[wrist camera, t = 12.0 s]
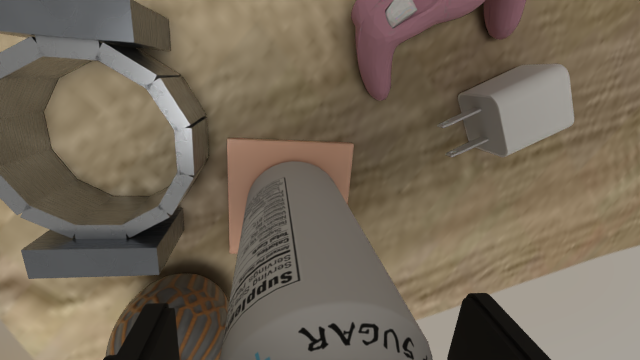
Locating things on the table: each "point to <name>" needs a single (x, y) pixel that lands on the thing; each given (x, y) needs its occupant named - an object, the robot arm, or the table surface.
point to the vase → (182, 315)
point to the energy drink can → (312, 279)
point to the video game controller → (415, 29)
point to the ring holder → (50, 172)
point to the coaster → (265, 153)
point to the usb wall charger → (515, 109)
